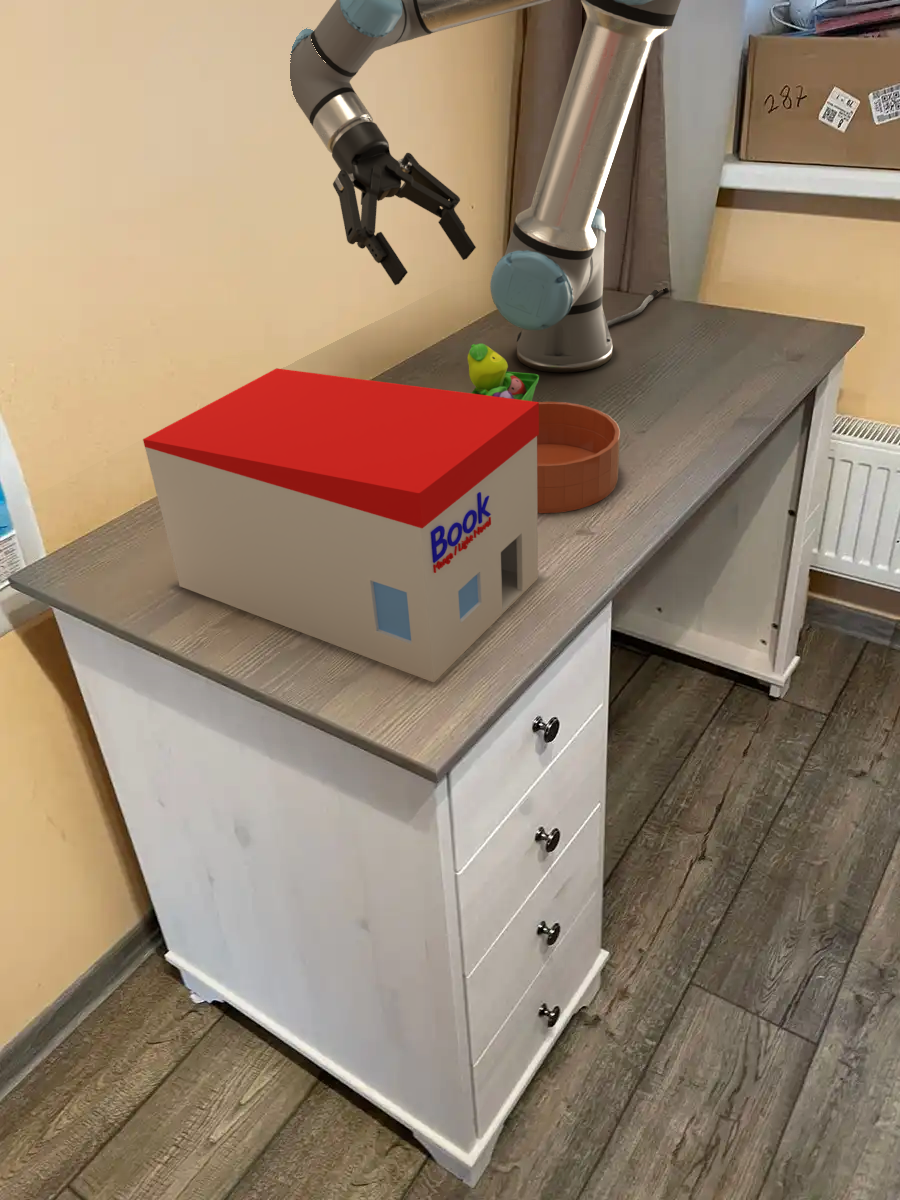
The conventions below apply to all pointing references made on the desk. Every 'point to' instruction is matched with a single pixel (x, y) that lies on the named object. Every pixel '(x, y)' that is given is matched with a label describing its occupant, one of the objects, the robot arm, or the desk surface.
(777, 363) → the desk surface
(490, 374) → the fruit basket
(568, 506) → the pot
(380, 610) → the bookstore
